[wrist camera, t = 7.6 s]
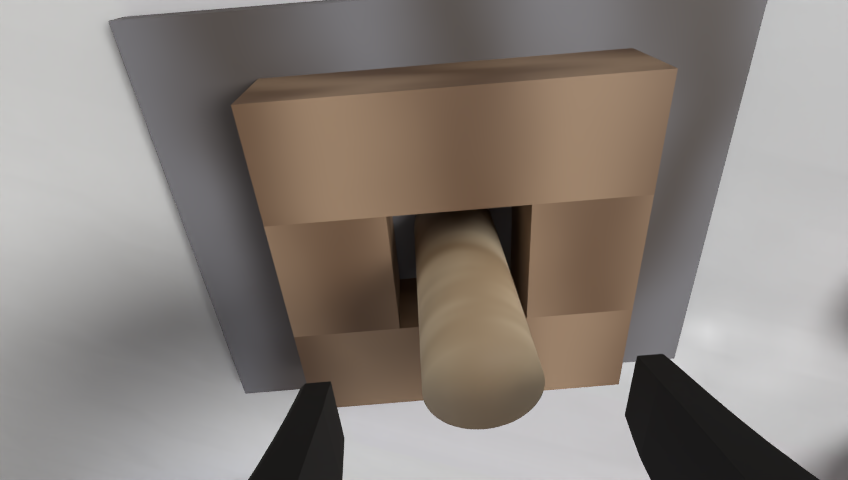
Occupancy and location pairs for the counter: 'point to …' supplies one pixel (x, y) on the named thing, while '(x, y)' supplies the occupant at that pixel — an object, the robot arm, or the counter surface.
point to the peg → (471, 324)
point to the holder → (441, 169)
